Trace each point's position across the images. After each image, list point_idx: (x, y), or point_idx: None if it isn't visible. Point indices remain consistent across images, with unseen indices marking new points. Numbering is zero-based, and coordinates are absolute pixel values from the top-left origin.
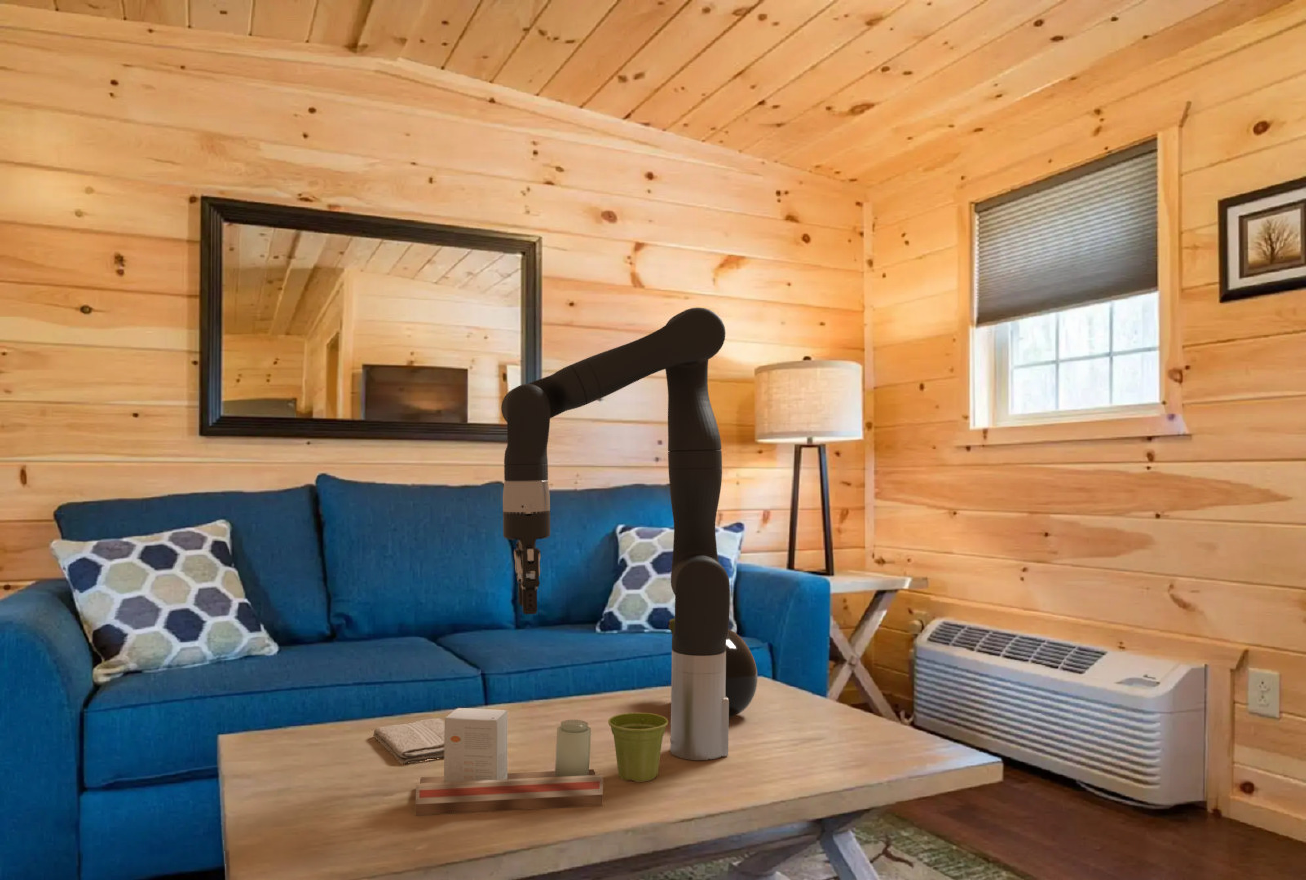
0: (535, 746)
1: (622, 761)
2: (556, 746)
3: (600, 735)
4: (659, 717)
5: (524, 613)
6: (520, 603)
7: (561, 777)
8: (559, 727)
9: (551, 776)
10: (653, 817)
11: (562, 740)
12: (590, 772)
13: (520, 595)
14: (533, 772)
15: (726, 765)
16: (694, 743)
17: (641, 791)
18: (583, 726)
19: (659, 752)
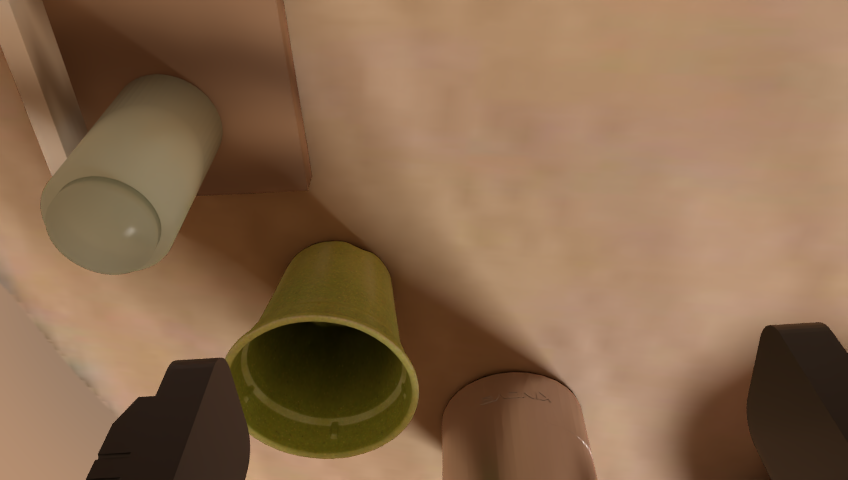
0: (677, 2)
1: (288, 277)
2: (107, 131)
3: (737, 220)
4: (370, 441)
5: (177, 363)
6: (776, 338)
7: (42, 113)
8: (110, 172)
9: (235, 64)
10: (42, 285)
11: (60, 166)
12: (277, 180)
13: (816, 409)
14: (271, 4)
15: (406, 455)
16: (446, 441)
17: (217, 279)
18: (69, 259)
19: (306, 373)
